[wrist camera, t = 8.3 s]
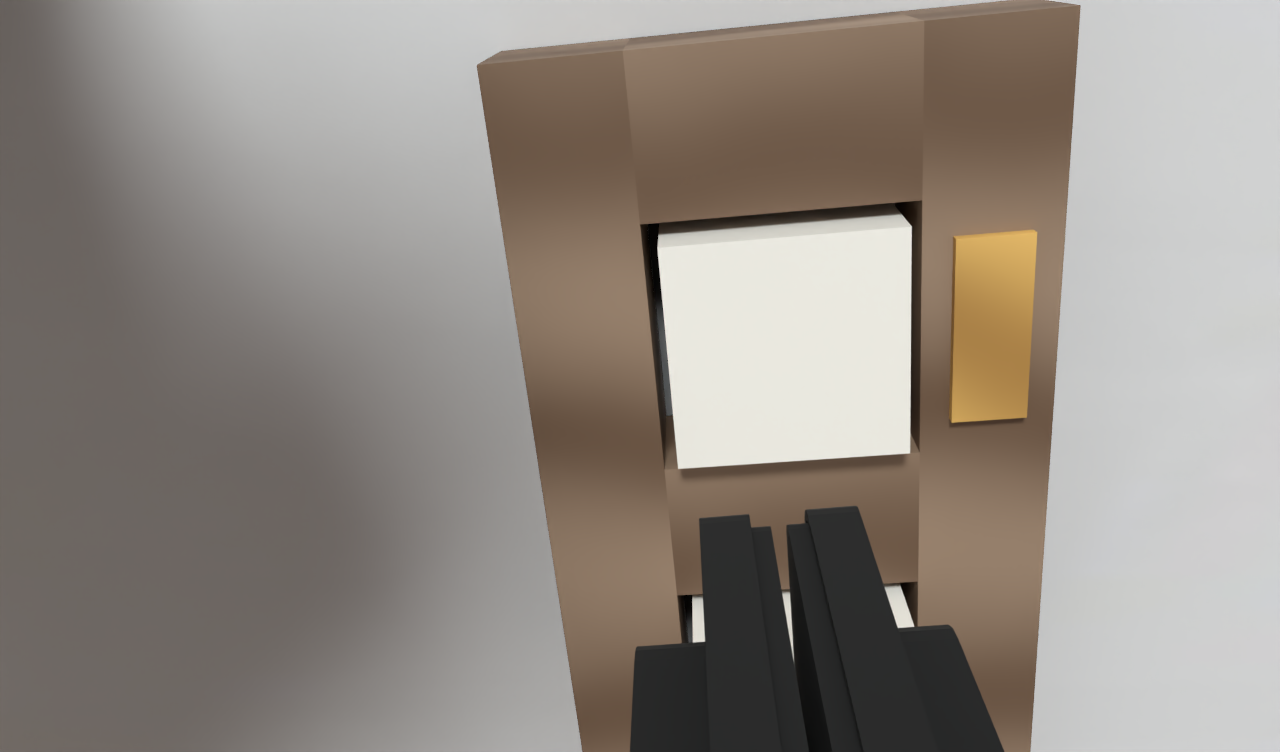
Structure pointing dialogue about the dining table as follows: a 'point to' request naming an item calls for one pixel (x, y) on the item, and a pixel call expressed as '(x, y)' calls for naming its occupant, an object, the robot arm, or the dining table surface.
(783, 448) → the inner button
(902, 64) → the button board
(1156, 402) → the dining table surface
